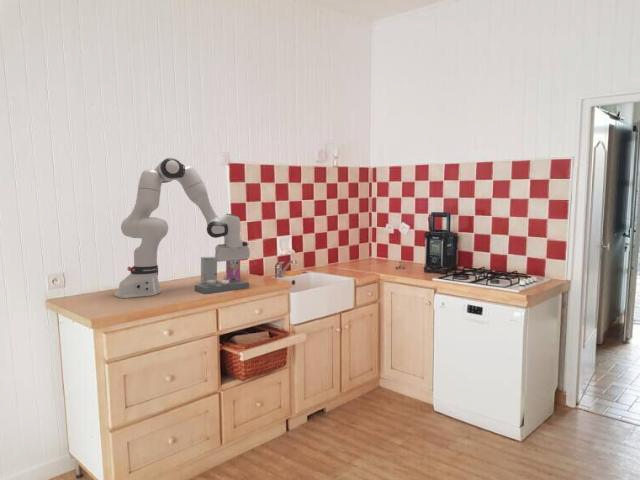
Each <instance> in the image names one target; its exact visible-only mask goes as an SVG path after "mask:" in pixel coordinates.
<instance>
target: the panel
mask: <svg viewBox="0 0 640 480" xmlns="http://www.w3.org/2000/svg"><path fill="white" fill-rule="evenodd" d="M249 288H250V282H249V281H244V280H241V279H240V280H230V281H229V284H227V285H222V284H221V281H217V282H216V284H212V285H210V284H207V283H201V284H200V283H199V284H194V291H196V292H198V293H200V294H201V293H202V294H204V295H208V294H215V293H222V292H223V293H224V292H229V291H236V290H243V289H244V290H245V289H249Z"/></svg>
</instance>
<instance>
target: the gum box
mask: <svg viewBox="0 0 640 480" xmlns="http://www.w3.org/2000/svg"><path fill="white" fill-rule="evenodd" d="M232 263H233V262H232ZM236 264H237V267H236V270H235V275H234V278H235V280H241V260H236ZM230 267H231V266H230V263H229V261H225V270H226V271H225V274H226V280H229V281H230V280H231V277H232V276H233V270H234V268H232V269H231V268H230Z"/></svg>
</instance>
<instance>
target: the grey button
mask: <svg viewBox="0 0 640 480" xmlns="http://www.w3.org/2000/svg"><path fill="white" fill-rule="evenodd" d="M207 284H210V285H212V284H216V280H207Z"/></svg>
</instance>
